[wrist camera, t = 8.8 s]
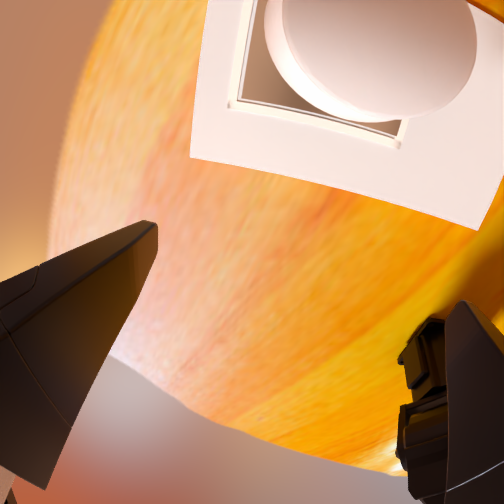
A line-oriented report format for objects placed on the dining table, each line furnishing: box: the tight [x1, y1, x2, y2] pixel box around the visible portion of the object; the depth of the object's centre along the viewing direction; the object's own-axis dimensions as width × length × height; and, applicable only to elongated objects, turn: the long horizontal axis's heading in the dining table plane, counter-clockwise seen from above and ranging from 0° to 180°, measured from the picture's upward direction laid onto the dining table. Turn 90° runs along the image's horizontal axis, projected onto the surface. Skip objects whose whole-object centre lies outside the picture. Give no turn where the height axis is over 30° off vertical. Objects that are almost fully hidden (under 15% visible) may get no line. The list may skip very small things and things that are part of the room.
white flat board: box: [190, 0, 504, 231], centre depth 15 cm, size 20×14×1 cm
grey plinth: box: [241, 0, 402, 136], centre depth 13 cm, size 8×8×2 cm
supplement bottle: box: [264, 0, 477, 122], centre depth 8 cm, size 5×5×10 cm
